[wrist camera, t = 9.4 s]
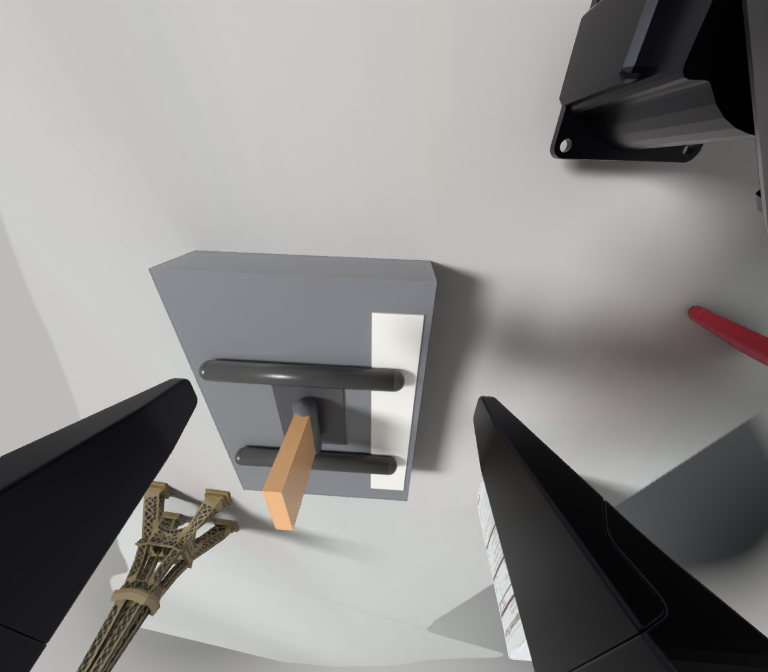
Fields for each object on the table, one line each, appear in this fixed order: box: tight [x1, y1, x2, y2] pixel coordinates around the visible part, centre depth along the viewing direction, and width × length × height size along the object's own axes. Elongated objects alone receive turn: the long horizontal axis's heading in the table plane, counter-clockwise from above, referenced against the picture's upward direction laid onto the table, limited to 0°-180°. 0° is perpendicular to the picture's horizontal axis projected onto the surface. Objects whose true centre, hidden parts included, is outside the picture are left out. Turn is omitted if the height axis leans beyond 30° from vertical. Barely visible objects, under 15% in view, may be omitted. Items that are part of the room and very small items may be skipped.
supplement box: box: [477, 476, 532, 661], centre depth 25 cm, size 7×7×13 cm
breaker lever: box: [262, 397, 322, 530], centre depth 18 cm, size 2×4×6 cm, turn 179°
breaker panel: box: [149, 251, 437, 501], centre depth 22 cm, size 16×22×5 cm
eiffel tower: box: [77, 481, 238, 672], centre depth 27 cm, size 11×11×25 cm
